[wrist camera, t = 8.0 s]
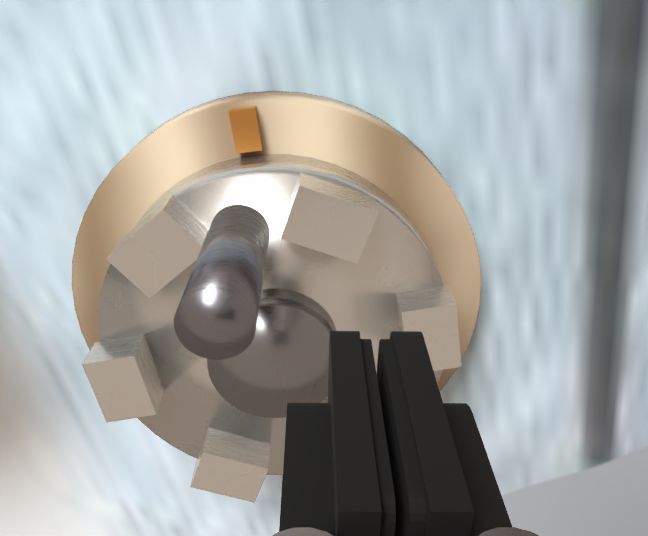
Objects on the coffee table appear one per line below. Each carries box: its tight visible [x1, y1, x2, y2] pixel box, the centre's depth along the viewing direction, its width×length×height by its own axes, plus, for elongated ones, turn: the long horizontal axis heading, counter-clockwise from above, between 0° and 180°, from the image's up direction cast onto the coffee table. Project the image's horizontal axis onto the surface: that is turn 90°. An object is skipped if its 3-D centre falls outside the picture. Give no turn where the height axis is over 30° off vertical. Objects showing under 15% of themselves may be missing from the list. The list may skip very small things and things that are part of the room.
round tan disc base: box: [72, 91, 481, 391], centre depth 27 cm, size 18×18×3 cm
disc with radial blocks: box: [82, 154, 462, 502], centre depth 22 cm, size 14×14×10 cm
